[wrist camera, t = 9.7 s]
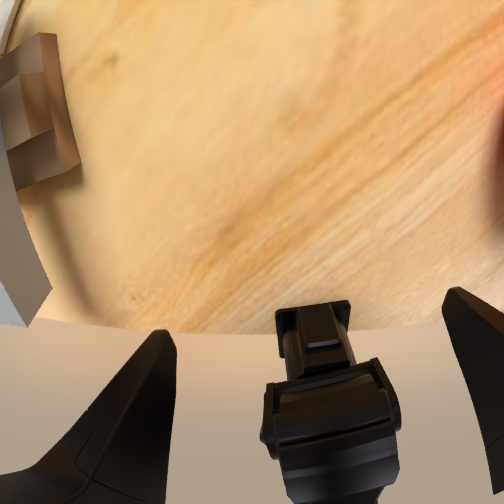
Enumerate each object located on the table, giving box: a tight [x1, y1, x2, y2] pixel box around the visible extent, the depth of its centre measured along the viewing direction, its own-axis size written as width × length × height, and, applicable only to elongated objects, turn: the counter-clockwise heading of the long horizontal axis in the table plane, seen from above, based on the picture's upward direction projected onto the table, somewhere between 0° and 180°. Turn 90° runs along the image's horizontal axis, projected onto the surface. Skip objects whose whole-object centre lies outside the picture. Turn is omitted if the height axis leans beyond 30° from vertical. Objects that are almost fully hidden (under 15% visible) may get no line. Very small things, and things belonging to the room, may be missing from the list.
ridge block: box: [0, 32, 81, 191], centre depth 12 cm, size 10×8×4 cm
